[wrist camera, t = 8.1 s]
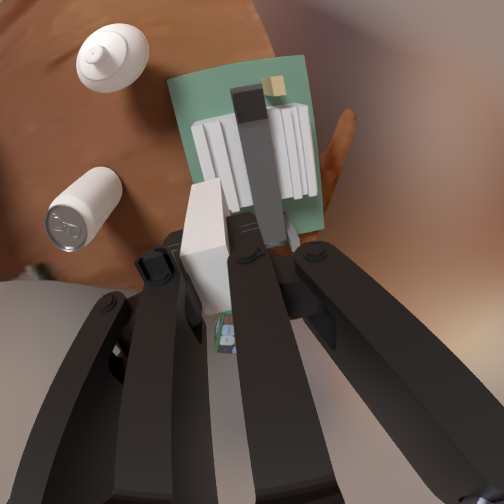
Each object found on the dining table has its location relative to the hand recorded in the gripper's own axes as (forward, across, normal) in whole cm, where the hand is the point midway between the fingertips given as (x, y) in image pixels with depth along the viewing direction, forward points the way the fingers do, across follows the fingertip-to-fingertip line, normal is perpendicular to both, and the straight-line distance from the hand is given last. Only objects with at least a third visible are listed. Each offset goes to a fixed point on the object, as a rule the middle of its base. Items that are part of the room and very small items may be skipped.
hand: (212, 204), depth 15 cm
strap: (+14, +4, -4) cm, 15 cm away
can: (+22, -17, -2) cm, 28 cm away
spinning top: (+22, -7, +13) cm, 26 cm away
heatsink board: (+22, +4, -4) cm, 22 cm away
